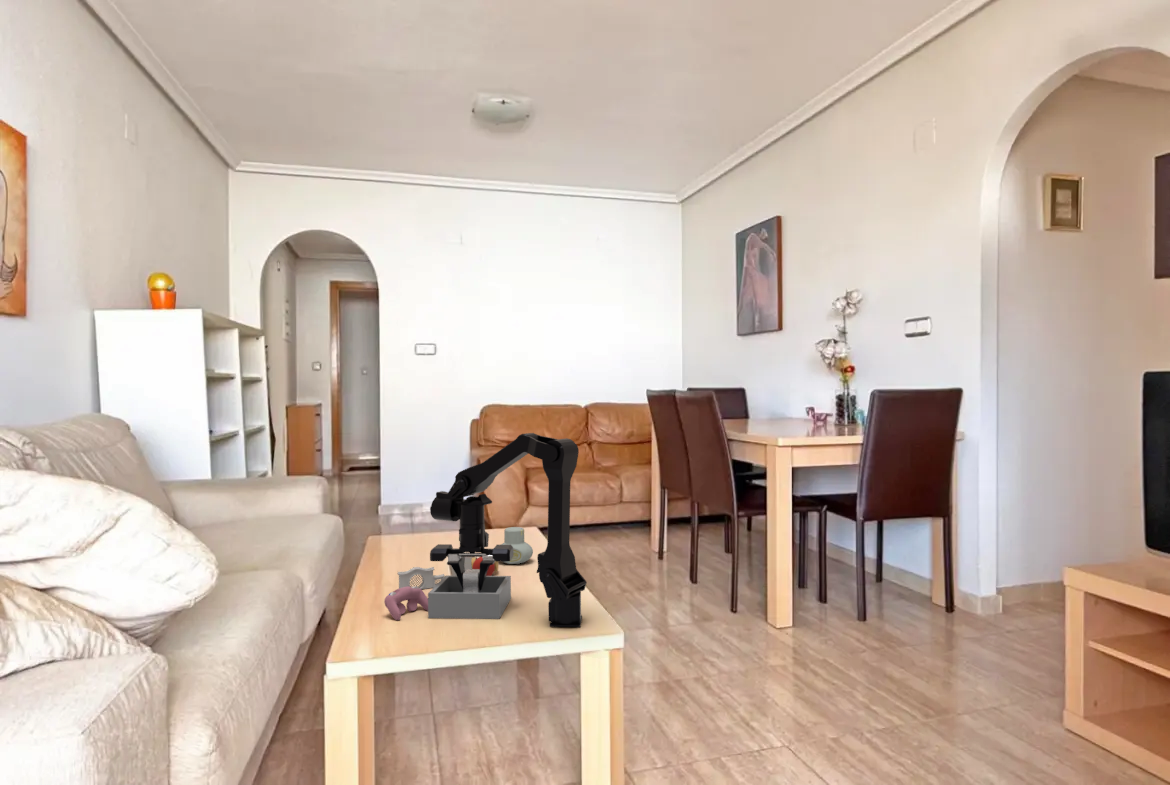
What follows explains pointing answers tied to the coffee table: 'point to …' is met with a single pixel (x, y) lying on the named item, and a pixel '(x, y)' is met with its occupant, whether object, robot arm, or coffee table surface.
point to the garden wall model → (424, 573)
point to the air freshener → (517, 545)
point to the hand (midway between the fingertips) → (472, 589)
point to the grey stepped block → (471, 581)
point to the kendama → (476, 565)
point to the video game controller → (402, 594)
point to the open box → (469, 599)
